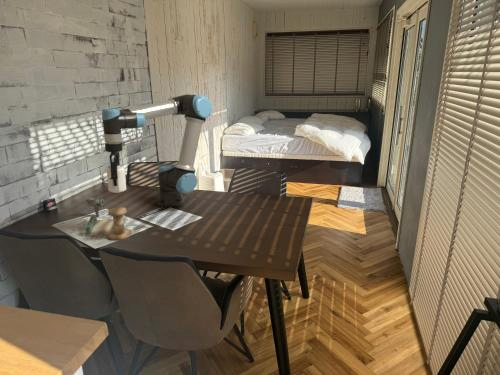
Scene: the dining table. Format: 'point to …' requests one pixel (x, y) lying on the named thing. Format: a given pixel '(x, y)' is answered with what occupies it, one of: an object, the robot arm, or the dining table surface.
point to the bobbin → (118, 224)
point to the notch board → (99, 226)
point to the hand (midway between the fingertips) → (117, 189)
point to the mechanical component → (95, 204)
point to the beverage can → (120, 177)
